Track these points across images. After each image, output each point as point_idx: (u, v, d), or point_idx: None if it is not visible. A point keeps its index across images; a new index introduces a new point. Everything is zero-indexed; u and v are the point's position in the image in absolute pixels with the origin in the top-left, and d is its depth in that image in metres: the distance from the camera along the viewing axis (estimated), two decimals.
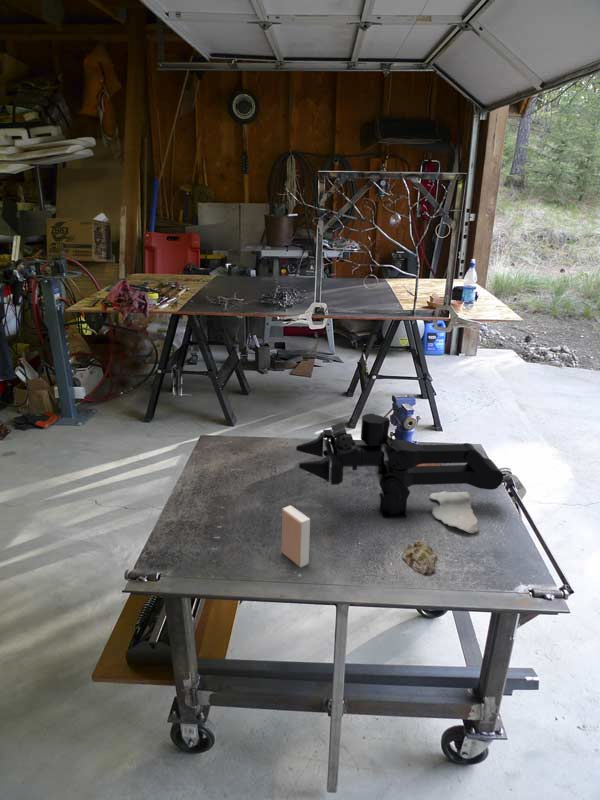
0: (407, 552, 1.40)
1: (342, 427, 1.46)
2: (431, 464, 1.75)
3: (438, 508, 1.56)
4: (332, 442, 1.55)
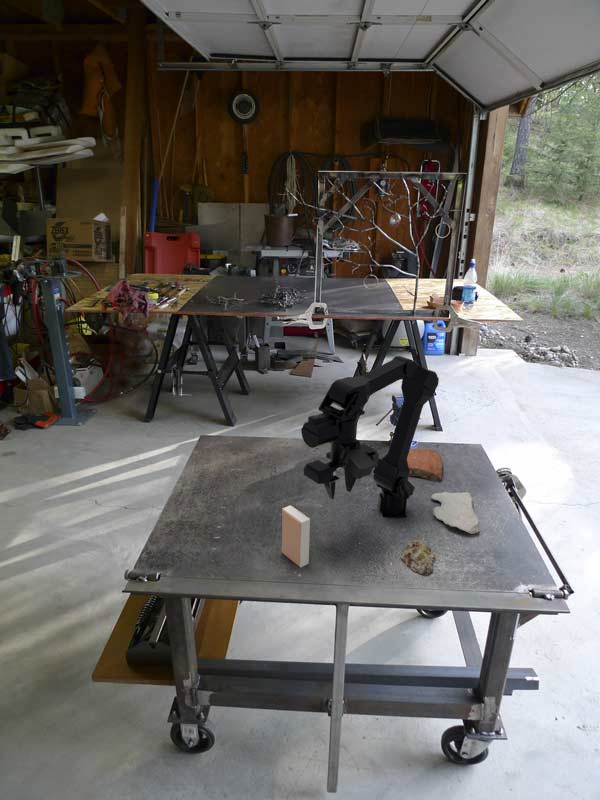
0: (405, 552, 1.40)
1: (371, 467, 1.32)
2: (433, 465, 1.74)
3: (440, 509, 1.55)
4: None
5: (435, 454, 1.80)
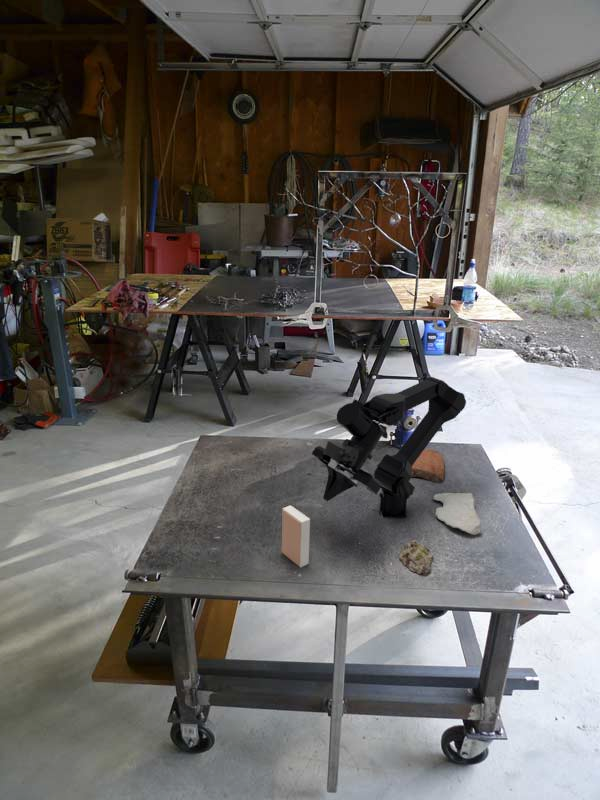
0: (404, 552, 1.40)
1: (336, 447, 1.34)
2: (435, 466, 1.74)
3: (441, 509, 1.55)
4: None
5: (437, 455, 1.80)
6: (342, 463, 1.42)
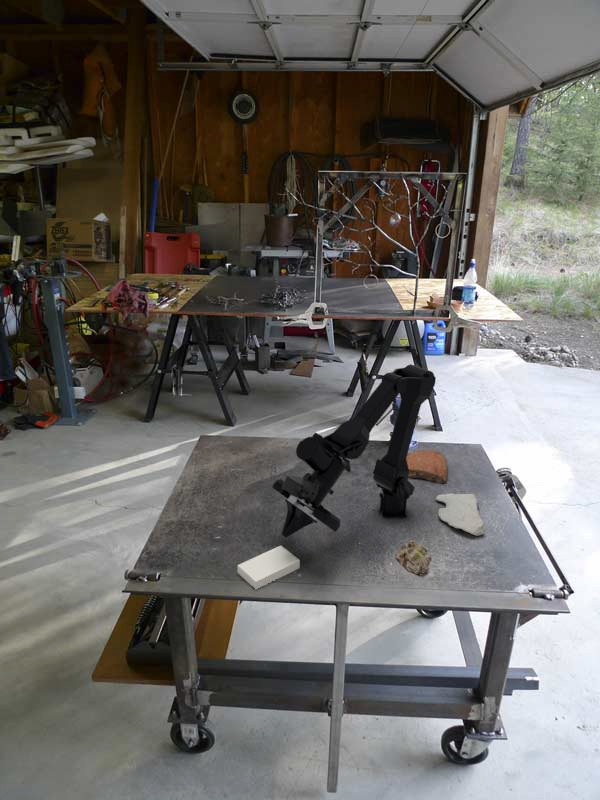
0: (401, 552, 1.40)
1: (294, 483, 1.29)
2: (437, 467, 1.73)
3: (444, 510, 1.55)
4: None
5: (440, 456, 1.79)
6: (303, 498, 1.37)
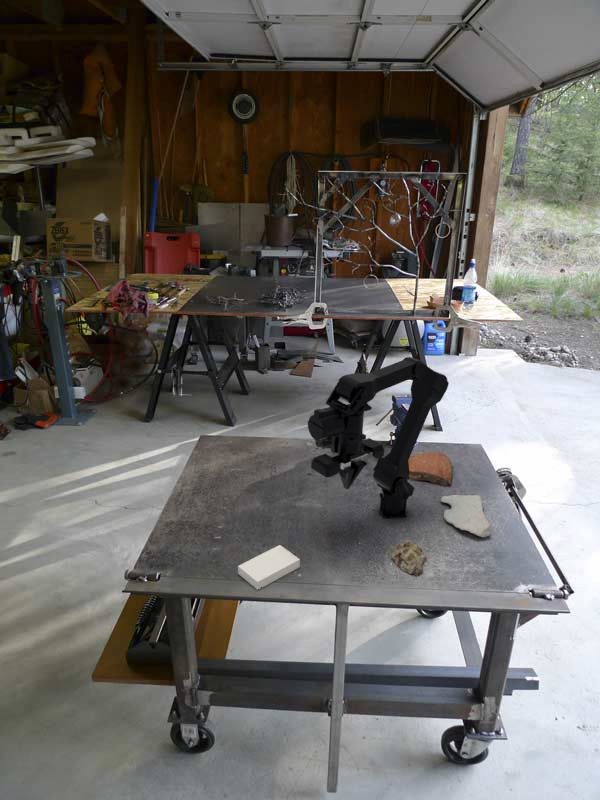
0: (396, 552, 1.40)
1: None
2: (442, 469, 1.72)
3: (450, 512, 1.54)
4: (362, 445, 1.45)
5: (444, 458, 1.78)
6: None
